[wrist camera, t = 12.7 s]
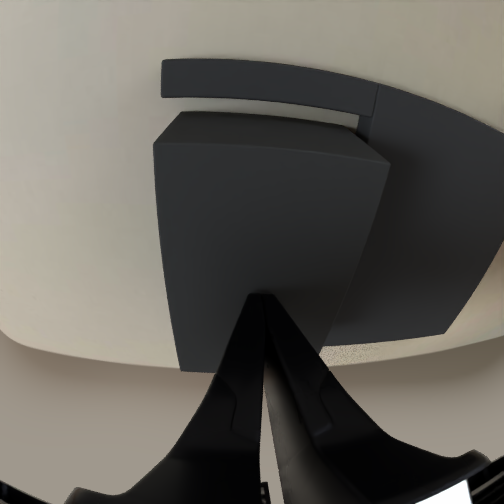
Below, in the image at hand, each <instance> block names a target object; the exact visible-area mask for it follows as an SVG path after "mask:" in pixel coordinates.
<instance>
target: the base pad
mask: <svg viewBox="0 0 504 504" xmlns="http://www.w3.org/2000/svg"><path fill="white" fill-rule="evenodd" d="M161 97H162V98H183V97H197V98H231V99H248V100H260V101H271V102H281V103H289V104H297V105H304V106H311V107H318V108H324V109H330V110H336V111H341V112H346V113H351V114H356V115H360V116H359V121H358V126H357V131H356V136H357V137H359V138H360V139H361V140H362V141H364V142H365V143H366V144H367V145H369V146H370V147H371V148H372V149H374V150H375V151H376V152H377V153H378V154H380V155H381V156H382V157H383V158H384V159H386V160H387V161H388V162H389V163H390V164H391V166H390V170H389V173H388V177H387V180H386V183H385V187H384V190H383V193H382V196H381V200H380V203H379V206H378V209H377V212H376V215H375V218H374V221H373V224H372V227H371V230H370V233H369V235H368V238H367V241H366V244H365V247H364V249H363V252H362V255H361V257H360V260H359V263H358V265H357V268H356V270H355V273H354V275H353V278H352V281H351V283H350V285H349V288H348V290H347V293H346V295H345V298H344V300H343V302H342V305H341V307H340V309H339V312H338V314H337V316H336V319H335V321H334V323H333V325H332V327H331V330H330V332H329V334H328V336H327V338H326V341H325V343H324V345H323V346H339V345H353V344H365V343H376V342H386V341H395V340H404V339H412V338H419V337H427V336H433V335H440V334H444V333H445V332H446V331H447V330H448V328H449V327H450V326H451V324H452V323H453V321H454V320H455V319H456V317H457V316H458V314H459V313H460V312H461V310H462V309H463V307H464V306H465V304H466V303H467V301H468V300H469V298H470V297H471V295H472V294H473V292H474V291H475V289H476V288H477V286H478V284H479V283H480V281H481V279H482V278H483V276H484V274H485V273H486V271H487V269H488V268H489V266H490V264H491V262H492V261H493V259H494V257H495V255H496V253H497V252H498V250H499V248H500V246H501V244H502V242H503V240H504V134H503V133H501V132H499V131H498V130H496V129H494V128H492V127H490V126H488V125H486V124H484V123H482V122H480V121H478V120H476V119H474V118H471V117H469V116H467V115H465V114H463V113H460V112H458V111H456V110H453V109H451V108H449V107H446V106H444V105H441V104H439V103H436V102H434V101H431V100H428V99H426V98H423V97H420V96H417V95H414V94H412V93H409V92H406V91H403V90H399V89H396V88H393V87H390V86H386V85H383V84H379V83H376V82H372V81H368V80H365V79H361V78H357V77H352V76H348V75H344V74H339V73H334V72H329V71H324V70H319V69H313V68H307V67H301V66H294V65H287V64H279V63H271V62H261V61H249V60H233V59H166V60H163V61H162V69H161Z"/></svg>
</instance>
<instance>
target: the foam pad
mask: <svg viewBox="0 0 504 504" xmlns="http://www.w3.org/2000/svg"><path fill="white" fill-rule="evenodd" d="M153 156H154V175H155V191H156V204H157V216H158V227H159V236H160V246H161V254H162V263H163V270H164V278H165V285H166V292H167V299H168V305H169V311H170V317H171V323H172V329H173V335H174V340H175V345H176V351H177V356H178V361H179V366H180V370H181V371H187V372H204V373H205V372H207V373H216V370H217V368H218V365H219V363H220V361H221V358H222V356H223V353H224V351H225V349H226V346H227V344H228V341H229V339H230V337H231V334H232V332H233V329H234V327H235V324H236V322H237V320H238V317H239V315H240V312H241V310H242V307H243V305H244V303H245V300H246V298H247V295H248V294H249V293H259V294H261V295H262V294H274V295H275V296H276V297H277V299H278V300H279V301H280V303H281V304H282V305H283V307H284V308H285V310H286V311H287V312H288V314H289V315H290V316H291V318H292V319H293V321H294V322H295V323H296V325H297V326H298V327H299V329H300V330H301V332H302V333H303V334H304V336H305V337H306V338H307V340H308V341H309V343H310V344H311V345H312V347H313V348H314V349H315V351H316V352H317V353H318V355H319V353H320V351H321V349H322V347H323V345H324V343H325V341H326V338H327V336H328V334H329V332H330V330H331V327H332V325H333V323H334V321H335V319H336V316H337V314H338V312H339V309H340V307H341V305H342V302H343V300H344V298H345V295H346V293H347V290H348V288H349V285H350V283H351V281H352V278H353V275H354V273H355V270H356V268H357V265H358V263H359V260H360V257H361V255H362V252H363V249H364V247H365V244H366V241H367V238H368V235H369V233H370V230H371V227H372V224H373V221H374V218H375V215H376V212H377V209H378V206H379V203H380V200H381V196H382V193H383V190H384V187H385V183H386V180H387V177H388V173H389V170H390V166H391V164H390V163H389V162H388V161H387V160H386V159H384V158H383V157H382V156H381V155H380V154H378V153H377V152H376V151H375V150H374V149H372V148H371V147H370V146H369V145H367V144H366V143H365V142H364V141H362V140H361V139H360V138H359V137H357V136H356V135H355V134H353V133H352V132H351V131H349V130H348V129H347V128H345V127H344V126H342V125H336V124H330V123H324V122H318V121H311V120H303V119H296V118H287V117H278V116H268V115H256V114H243V113H224V112H180V113H179V115H178V116H177V117H176V118H175V119H174V120H173V121H172V122H171V123H170V125H169V126H168V127H167V128H166V129H165V130H164V131H163V133H162V134H161V135H160V136H159V137H158V139H157V140H156V141H155V142H154V144H153Z"/></svg>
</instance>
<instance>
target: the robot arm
mask: <svg viewBox="0 0 504 504" xmlns="http://www.w3.org/2000/svg"><path fill="white" fill-rule="evenodd" d="M263 382H264V388H265V394H266V399H267V406H268V412H269V417H270V423H271V430H272V435H273V441H274V447H275V453H276V458H277V464H278V469H279V476H280V481H281V487H282V492H283V499H284V504H504V455H503V456H501V457H499V458H498V459H496V460H494V461H492V462H491V461H490V460H489V458H488V457H487V456H485V455H484V454H482V453H480V452H478V451H476V450H471V451H469V452H467V453H465V454H463V455H461V456H459V457H452V458H451V457H444V456H440V455H437V454H434V453H431V452H429V451H426V450H423V449H420V448H418V447H415V446H412V445H409V444H407V443H404V442H402V441H399V440H397V439H395V438H393V437H391V436H390V435H388V434H387V433H386V432H384V431H383V430H382V429H381V428H380V427H379V426H378V425H377V424H376V423H375V422H374V421H373V420H372V419H371V418H370V417H369V416H368V415H367V413H366V412H365V411H364V410H363V409H362V408H361V407H360V406H359V405H358V404H357V403H356V402H355V401H354V400H353V399H352V397H351V396H350V395H349V394H348V393H347V392H346V391H345V389H344V388H343V387H342V386H341V384H340V383H339V382H338V381H337V379H336V378H335V377H334V375H333V374H332V372H331V371H329V369H328V367H327V366H326V364H325V363H324V362H323V360H322V359H321V358H320V356H319V355H318V353H317V352H316V351H315V349H314V348H313V347H312V345H311V344H310V343H309V341H308V340H307V338H306V337H305V336H304V334H303V333H302V332H301V330H300V329H299V327H298V326H297V325H296V323H295V322H294V321H293V319H292V318H291V316H290V315H289V314H288V312H287V311H286V310H285V308H284V307H283V305H282V304H281V303H280V301H279V300H278V299H277V297H276V296H275V295H274V294H262V295H261V294H259V293H249V294H248V295H247V298H246V300H245V303H244V305H243V307H242V310H241V312H240V315H239V317H238V320H237V322H236V324H235V327H234V329H233V332H232V334H231V337H230V339H229V341H228V344H227V346H226V349H225V351H224V353H223V356H222V358H221V361H220V363H219V365H218V368H217V370H216V374H215V375H214V377H213V380H212V382H211V384H210V386H209V389H208V391H207V393H206V395H205V397H204V399H203V401H202V402H201V404H200V406H199V407H198V409H197V411H196V413H195V414H194V416H193V417H192V419H191V421H190V422H189V424H188V425H187V427H186V428H185V430H184V432H183V433H182V435H181V436H180V438H179V439H178V441H177V442H176V444H175V445H174V447H173V448H172V449H171V451H170V452H169V453H168V454H167V455H166V457H165V458H164V459H163V460H162V461H160V462H159V463H158V464H157V465H156V466H155V467H154V468H153V469H152V470H151V471H150V472H149V473H148V474H146V475H145V476H144V477H143V478H142V479H141V480H140V481H139V482H138V483H136V484H135V485H134V486H133V487H132V488H131V489H129V490H128V491H126V492H125V493H122V494H119V495H106V494H102V493H98V492H94V491H91V490H87V489H84V488H80V487H76V488H74V490H73V491H72V493H71V494H70V495H69V497H68V498H67V500H66V501H65V503H64V504H271V501H270V495H269V489H268V482H262V483H261V480H260V463H259V462H260V460H259V459H260V455H259V454H260V436H261V418H262V399H263ZM0 504H51V503H48V502H46V501H44V500H41V499H39V498H37V497H34V496H32V495H30V494H28V493H26V492H24V491H21V490H19V489H17V488H15V487H13V486H11V485H9V484H7V483H5V482H3V481H1V480H0Z"/></svg>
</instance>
